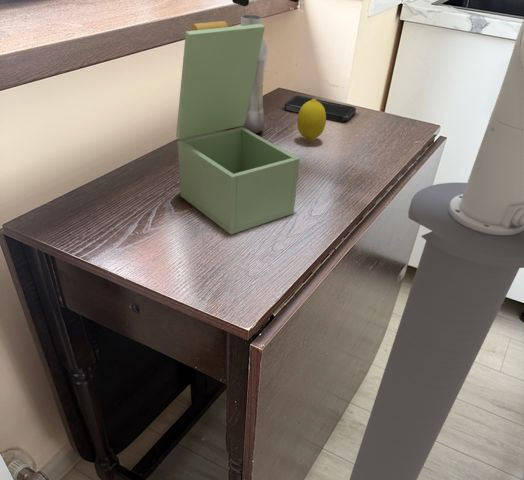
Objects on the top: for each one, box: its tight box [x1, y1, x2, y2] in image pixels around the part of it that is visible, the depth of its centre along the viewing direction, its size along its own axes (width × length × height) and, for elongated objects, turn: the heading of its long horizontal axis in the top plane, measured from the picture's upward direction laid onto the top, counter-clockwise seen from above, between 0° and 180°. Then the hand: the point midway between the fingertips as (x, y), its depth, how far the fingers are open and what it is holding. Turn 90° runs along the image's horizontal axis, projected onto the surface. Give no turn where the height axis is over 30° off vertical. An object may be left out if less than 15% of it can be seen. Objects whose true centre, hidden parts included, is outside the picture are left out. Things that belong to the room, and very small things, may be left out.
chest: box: [177, 127, 300, 235], centre depth 78 cm, size 14×12×9 cm
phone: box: [284, 95, 357, 123], centre depth 115 cm, size 8×1×15 cm
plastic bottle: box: [233, 14, 268, 135], centre depth 97 cm, size 6×7×20 cm
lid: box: [175, 20, 266, 140], centre depth 73 cm, size 15×12×5 cm
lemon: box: [296, 98, 327, 142], centre depth 99 cm, size 6×6×8 cm
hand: (266, 2), depth 76 cm, fingers open, 9 cm apart
